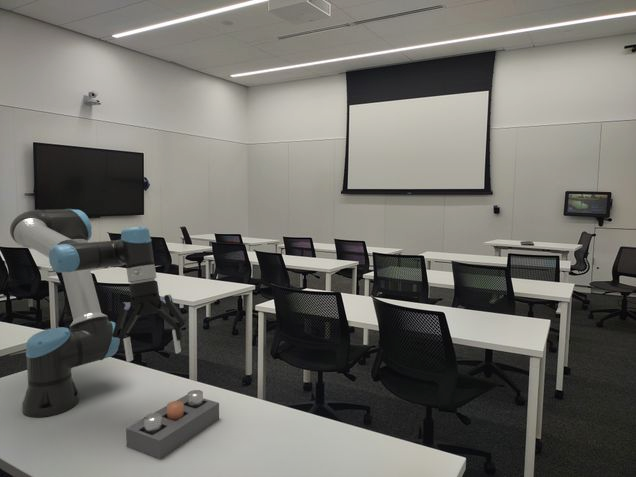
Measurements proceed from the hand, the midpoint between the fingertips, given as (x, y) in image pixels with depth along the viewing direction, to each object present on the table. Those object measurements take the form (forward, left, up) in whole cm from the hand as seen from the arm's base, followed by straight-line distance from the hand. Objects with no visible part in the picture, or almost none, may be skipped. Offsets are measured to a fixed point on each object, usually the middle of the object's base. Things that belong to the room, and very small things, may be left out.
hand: (154, 356), depth 125 cm
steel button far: (+6, +9, -17) cm, 21 cm away
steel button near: (+6, -7, -17) cm, 20 cm away
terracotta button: (+6, +1, -17) cm, 19 cm away
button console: (+6, +1, -21) cm, 22 cm away
